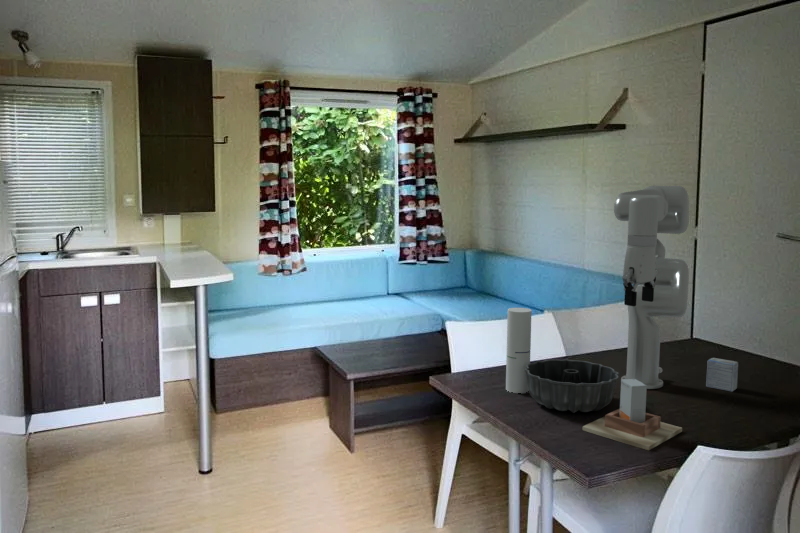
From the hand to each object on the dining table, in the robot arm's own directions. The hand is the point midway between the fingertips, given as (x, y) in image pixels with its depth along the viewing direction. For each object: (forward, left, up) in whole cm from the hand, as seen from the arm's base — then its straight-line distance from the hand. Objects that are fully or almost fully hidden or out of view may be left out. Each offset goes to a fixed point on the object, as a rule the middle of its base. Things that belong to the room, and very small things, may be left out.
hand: (638, 303), depth 189 cm
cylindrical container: (+10, -33, -31) cm, 46 cm away
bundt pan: (+9, -15, -31) cm, 35 cm away
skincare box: (+16, +8, -30) cm, 35 cm away
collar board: (+16, +8, -30) cm, 35 cm away
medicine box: (-38, +9, -31) cm, 50 cm away
